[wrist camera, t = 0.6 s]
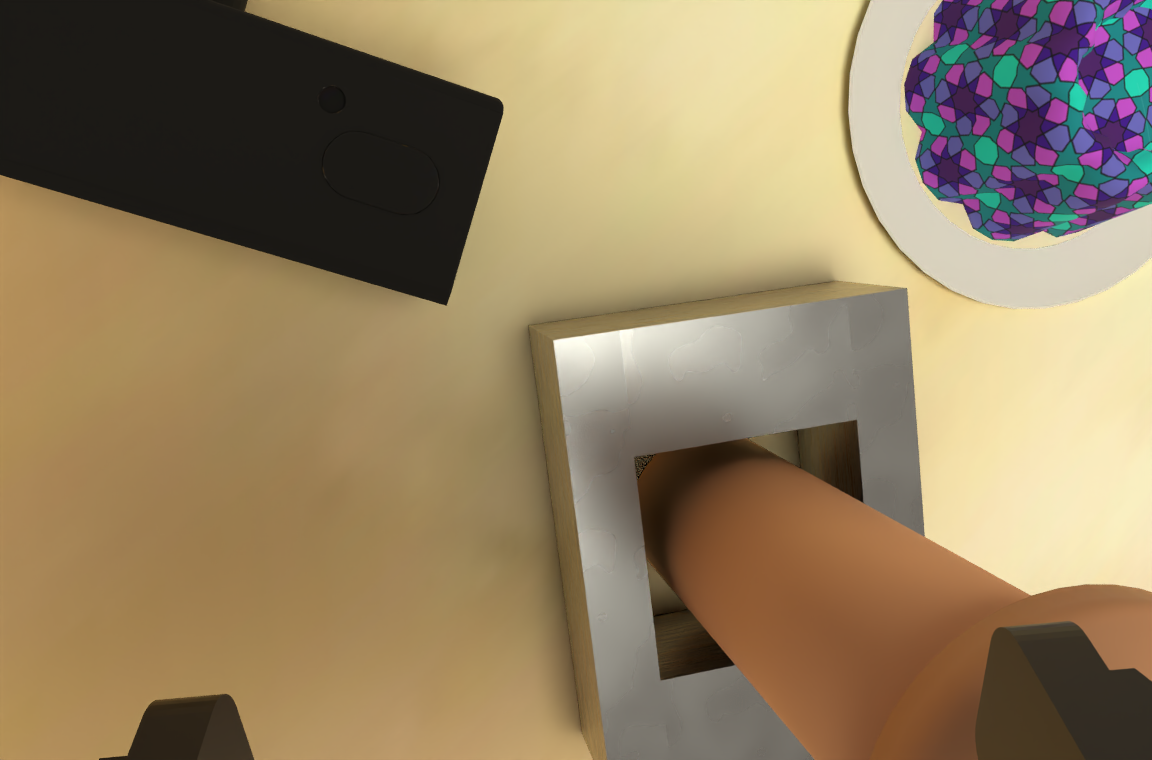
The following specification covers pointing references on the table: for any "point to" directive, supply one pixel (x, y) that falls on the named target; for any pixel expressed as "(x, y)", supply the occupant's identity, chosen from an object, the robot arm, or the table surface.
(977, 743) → the robot arm
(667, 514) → the orange capped cylinder
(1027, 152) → the pudding
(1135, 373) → the table surface
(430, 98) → the digital camera
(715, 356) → the frame
